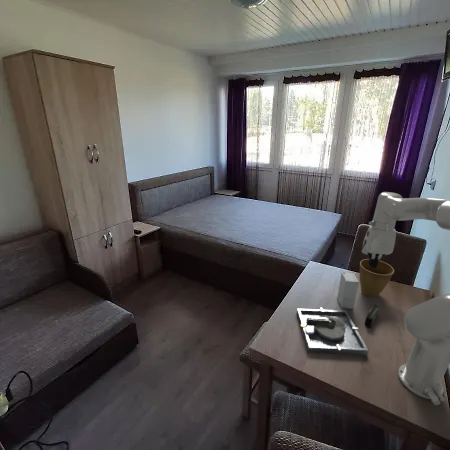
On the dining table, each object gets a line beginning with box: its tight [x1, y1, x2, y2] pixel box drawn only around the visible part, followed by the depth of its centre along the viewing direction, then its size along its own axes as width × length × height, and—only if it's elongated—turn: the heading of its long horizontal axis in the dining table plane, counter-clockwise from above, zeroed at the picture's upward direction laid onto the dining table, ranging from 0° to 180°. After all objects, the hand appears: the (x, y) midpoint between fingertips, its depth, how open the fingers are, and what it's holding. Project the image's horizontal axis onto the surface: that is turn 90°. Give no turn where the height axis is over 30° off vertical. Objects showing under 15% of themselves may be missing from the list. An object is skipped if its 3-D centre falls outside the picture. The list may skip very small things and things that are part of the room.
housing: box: [296, 307, 370, 356], centre depth 110 cm, size 23×23×3 cm
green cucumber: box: [364, 303, 381, 328], centre depth 118 cm, size 5×3×15 cm
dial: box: [306, 316, 346, 341], centre depth 109 cm, size 16×12×6 cm
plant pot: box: [359, 258, 395, 298], centre depth 133 cm, size 15×15×16 cm
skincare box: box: [336, 272, 360, 310], centre depth 126 cm, size 8×6×15 cm
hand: (372, 266), depth 108 cm, fingers closed
